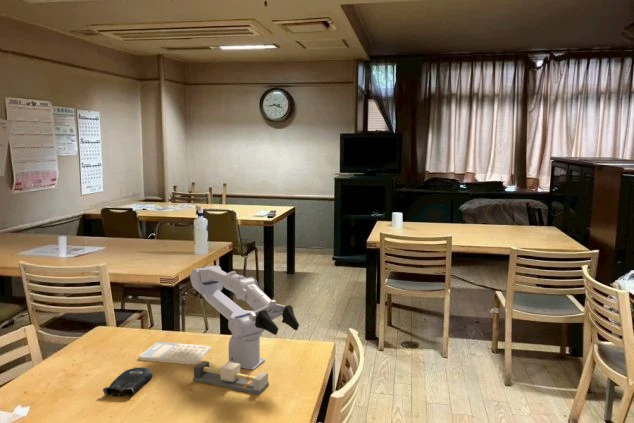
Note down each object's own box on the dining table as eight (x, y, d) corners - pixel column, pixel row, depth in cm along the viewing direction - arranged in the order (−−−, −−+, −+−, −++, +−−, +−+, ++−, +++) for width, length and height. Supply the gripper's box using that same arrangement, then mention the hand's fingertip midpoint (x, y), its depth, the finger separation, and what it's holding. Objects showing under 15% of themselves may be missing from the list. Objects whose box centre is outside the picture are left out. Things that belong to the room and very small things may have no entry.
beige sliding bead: (220, 379, 148) (220, 367, 148) (228, 373, 152) (228, 361, 152) (232, 382, 147) (232, 369, 146) (240, 376, 151) (240, 363, 150)
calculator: (195, 366, 162) (195, 360, 162) (137, 361, 166) (137, 355, 165) (211, 350, 175) (211, 344, 175) (157, 345, 179) (156, 340, 178)
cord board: (193, 380, 151) (192, 367, 151) (204, 372, 157) (204, 360, 156) (258, 394, 143) (258, 381, 142) (268, 385, 148) (268, 372, 148)
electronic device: (137, 403, 141) (158, 372, 156) (132, 386, 140) (154, 356, 154) (105, 405, 142) (129, 375, 157) (100, 388, 141) (125, 359, 155)
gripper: (244, 295, 149) (270, 321, 140) (283, 289, 159) (310, 313, 150) (238, 315, 151) (264, 343, 142) (277, 308, 161) (303, 333, 152)
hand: (287, 329), depth 146 cm, fingers open, 7 cm apart
